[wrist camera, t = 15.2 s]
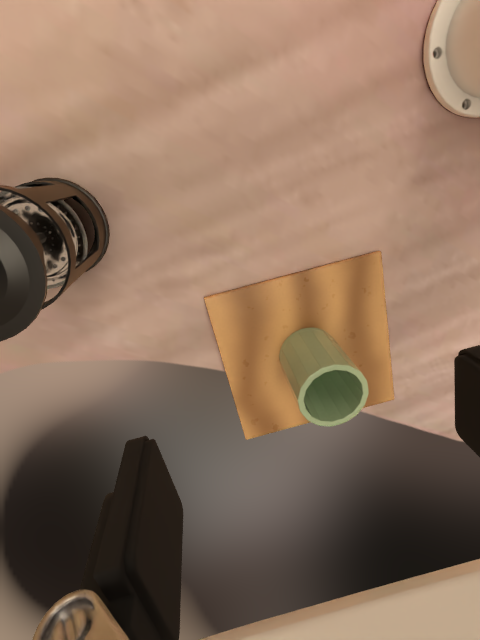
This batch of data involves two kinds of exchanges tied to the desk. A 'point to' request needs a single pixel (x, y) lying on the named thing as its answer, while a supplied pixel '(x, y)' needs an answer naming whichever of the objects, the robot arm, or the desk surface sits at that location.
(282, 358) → the pot
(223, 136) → the desk surface
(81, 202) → the french press
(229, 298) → the mat
